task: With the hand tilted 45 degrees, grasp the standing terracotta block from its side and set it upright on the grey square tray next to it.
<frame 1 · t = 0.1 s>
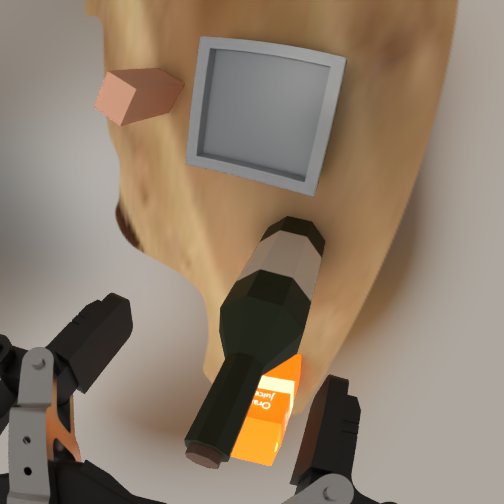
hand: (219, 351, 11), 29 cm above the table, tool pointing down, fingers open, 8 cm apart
wine bottle: (294, 244, 42), on the table
grey square tray: (266, 108, 31), point 4 cm above the table, slide at 0.0 cm
terracotta block: (163, 90, 36), on the table
orange juice: (277, 363, 55), on the table
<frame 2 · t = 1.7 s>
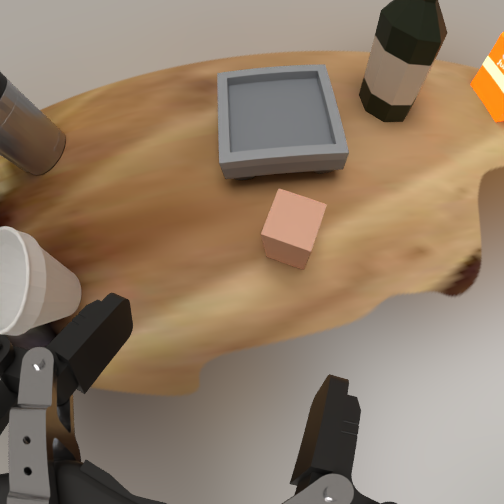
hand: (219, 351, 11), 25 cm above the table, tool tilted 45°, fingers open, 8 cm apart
wine bottle: (384, 102, 41), on the table
cup: (64, 293, 39), on the table
grey square tray: (278, 122, 37), point 4 cm above the table, slide at 0.0 cm
terracotta block: (291, 245, 37), on the table
orange juice: (493, 102, 40), on the table
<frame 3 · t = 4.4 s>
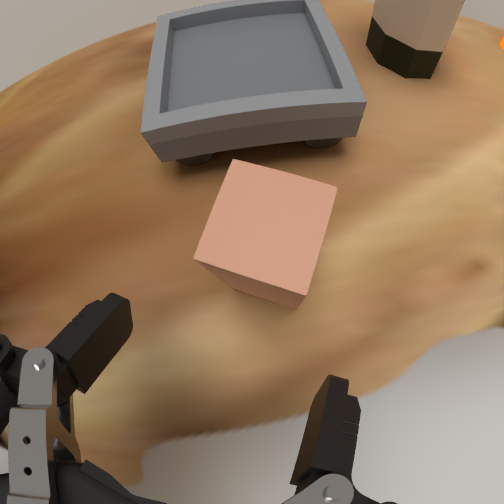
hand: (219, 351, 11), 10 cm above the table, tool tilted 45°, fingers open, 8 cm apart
wine bottle: (402, 55, 26), on the table
grey square tray: (247, 73, 22), point 4 cm above the table, slide at 0.0 cm
terracotta block: (274, 267, 22), on the table
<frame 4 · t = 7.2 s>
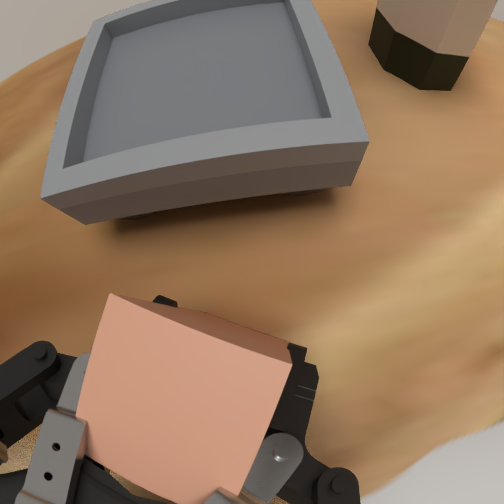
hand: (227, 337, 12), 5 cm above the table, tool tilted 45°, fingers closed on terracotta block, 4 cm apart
wine bottle: (414, 58, 20), on the table
grey square tray: (200, 90, 16), point 4 cm above the table, slide at 0.0 cm
terracotta block: (231, 367, 16), on the table, touching gripper
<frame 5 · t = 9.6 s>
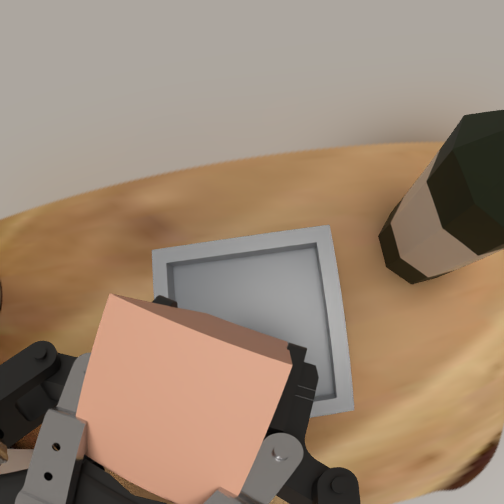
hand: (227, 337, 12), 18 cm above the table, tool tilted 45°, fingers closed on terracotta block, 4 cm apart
wine bottle: (414, 244, 29), on the table
cup: (40, 470, 27), on the table
grey square tray: (253, 330, 26), point 4 cm above the table, slide at 0.0 cm
terracotta block: (231, 367, 16), point 13 cm above the table, touching gripper
when the fingers open (12 cm above the table, at t = 12.1 s): terracotta block drops 1 cm, resting on grey square tray.
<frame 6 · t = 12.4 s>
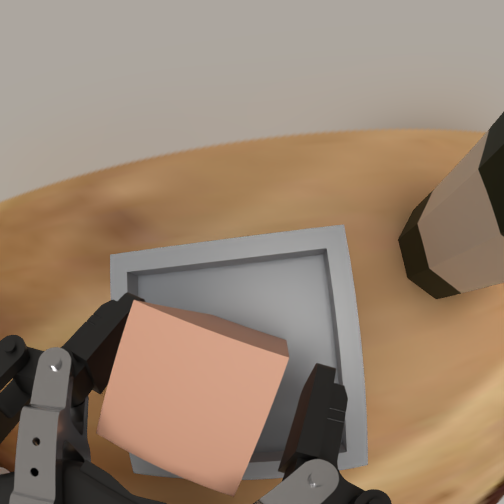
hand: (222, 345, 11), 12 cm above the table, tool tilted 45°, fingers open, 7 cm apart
wine bottle: (440, 250, 23), on the table
grey square tray: (239, 360, 19), point 4 cm above the table, slide at 0.0 cm, touching terracotta block
terracotta block: (235, 364, 17), point 5 cm above the table, touching grey square tray
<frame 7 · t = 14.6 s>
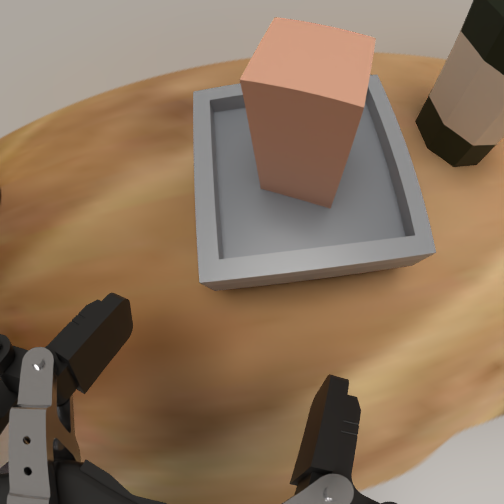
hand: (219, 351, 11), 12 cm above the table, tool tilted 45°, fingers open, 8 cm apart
wine bottle: (450, 134, 26), on the table
cup: (18, 415, 24), on the table
grey square tray: (303, 180, 22), point 4 cm above the table, slide at 0.0 cm, touching terracotta block
terracotta block: (304, 167, 20), point 5 cm above the table, touching grey square tray
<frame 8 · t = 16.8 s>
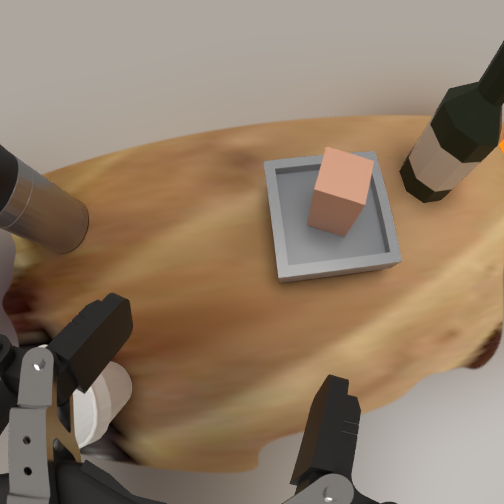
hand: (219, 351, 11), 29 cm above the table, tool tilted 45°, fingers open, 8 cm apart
wine bottle: (423, 178, 42), on the table
cup: (112, 383, 39), on the table
grey square tray: (328, 218, 38), point 4 cm above the table, slide at 0.0 cm, touching terracotta block
terracotta block: (330, 213, 36), point 5 cm above the table, touching grey square tray
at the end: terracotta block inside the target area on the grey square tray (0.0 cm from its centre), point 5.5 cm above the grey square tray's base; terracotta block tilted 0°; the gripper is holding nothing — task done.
